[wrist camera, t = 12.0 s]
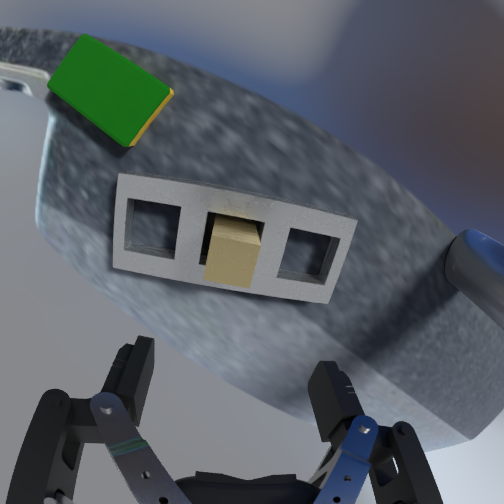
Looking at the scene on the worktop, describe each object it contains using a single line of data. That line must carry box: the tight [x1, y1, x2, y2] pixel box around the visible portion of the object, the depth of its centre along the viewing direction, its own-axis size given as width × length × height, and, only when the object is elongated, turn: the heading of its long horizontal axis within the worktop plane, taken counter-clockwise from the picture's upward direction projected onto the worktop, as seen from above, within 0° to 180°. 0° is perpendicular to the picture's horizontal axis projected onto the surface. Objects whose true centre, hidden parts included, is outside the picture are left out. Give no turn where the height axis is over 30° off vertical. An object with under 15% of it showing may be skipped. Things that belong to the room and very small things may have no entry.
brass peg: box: [203, 214, 261, 288], centre depth 26 cm, size 4×4×7 cm
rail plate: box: [113, 170, 358, 304], centre depth 28 cm, size 24×10×2 cm, turn 77°
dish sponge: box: [47, 34, 174, 147], centre depth 21 cm, size 7×14×2 cm, turn 49°
